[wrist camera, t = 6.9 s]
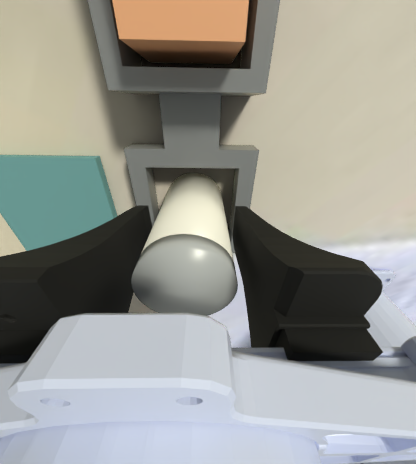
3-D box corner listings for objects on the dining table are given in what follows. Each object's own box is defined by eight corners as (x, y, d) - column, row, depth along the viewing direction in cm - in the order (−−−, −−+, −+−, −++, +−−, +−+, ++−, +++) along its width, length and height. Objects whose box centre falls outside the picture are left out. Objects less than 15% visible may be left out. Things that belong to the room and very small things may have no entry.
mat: (128, 251, 16) (125, 256, 16) (35, 251, 16) (30, 256, 16) (99, 156, 12) (94, 158, 11) (-29, 154, 12) (-39, 156, 11)
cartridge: (220, 223, 15) (232, 318, 8) (170, 223, 15) (142, 318, 8) (223, 173, 13) (243, 248, 6) (164, 172, 13) (118, 247, 6)
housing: (239, 241, 16) (246, 266, 13) (151, 240, 16) (141, 266, 13) (292, -133, 7) (344, -276, 4) (76, -141, 6) (-4, -294, 4)
